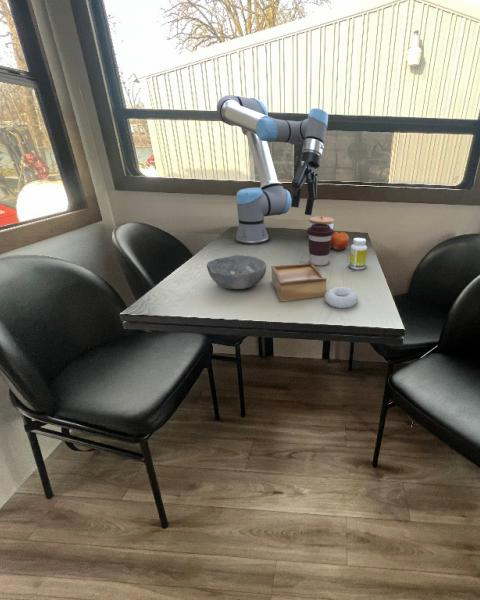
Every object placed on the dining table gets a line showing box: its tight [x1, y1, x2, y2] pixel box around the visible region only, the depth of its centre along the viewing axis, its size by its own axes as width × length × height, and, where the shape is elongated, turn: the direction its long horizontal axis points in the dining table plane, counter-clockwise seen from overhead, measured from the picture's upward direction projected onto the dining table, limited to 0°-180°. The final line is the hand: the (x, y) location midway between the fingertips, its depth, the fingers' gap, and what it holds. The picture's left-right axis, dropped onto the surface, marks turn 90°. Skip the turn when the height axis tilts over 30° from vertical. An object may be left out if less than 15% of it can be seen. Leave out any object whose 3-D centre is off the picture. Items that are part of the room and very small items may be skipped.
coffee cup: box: [306, 223, 334, 266], centre depth 115 cm, size 10×10×15 cm
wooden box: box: [270, 262, 327, 302], centre depth 94 cm, size 14×14×6 cm
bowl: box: [206, 254, 267, 290], centre depth 94 cm, size 18×18×8 cm
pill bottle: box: [349, 237, 368, 270], centre depth 113 cm, size 6×6×11 cm
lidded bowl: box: [308, 214, 335, 230], centre depth 151 cm, size 13×13×11 cm
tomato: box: [331, 230, 350, 251], centre depth 134 cm, size 9×9×8 cm
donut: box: [323, 286, 359, 309], centre depth 88 cm, size 10×4×10 cm
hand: (301, 211), depth 115 cm, fingers open, 13 cm apart
